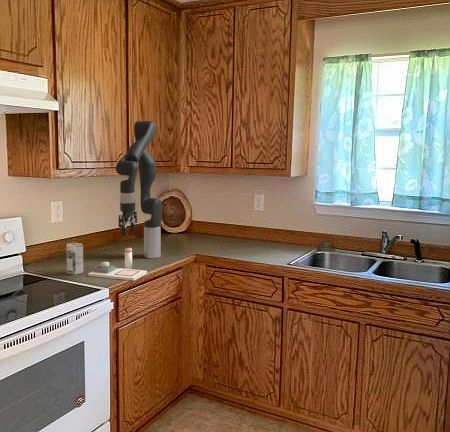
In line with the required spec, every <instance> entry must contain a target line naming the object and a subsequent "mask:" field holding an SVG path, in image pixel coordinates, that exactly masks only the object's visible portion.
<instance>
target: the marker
mask: <svg viewBox="0 0 450 432" xmlns="http://www.w3.org/2000/svg"><path fill="white" fill-rule="evenodd" d="M124 269H133V248H132V247H126V248H124Z"/></svg>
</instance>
